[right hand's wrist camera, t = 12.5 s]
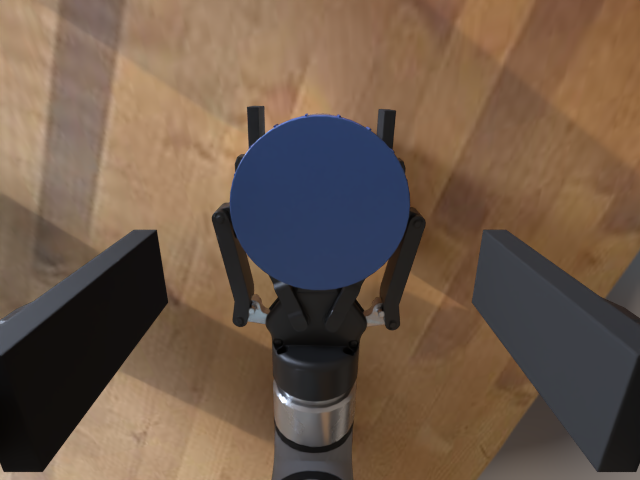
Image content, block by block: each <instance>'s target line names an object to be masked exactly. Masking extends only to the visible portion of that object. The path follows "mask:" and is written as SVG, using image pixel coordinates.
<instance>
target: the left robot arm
mask: <svg viewBox="0 0 640 480" xmlns="http://www.w3.org/2000/svg"><path fill="white" fill-rule="evenodd" d="M247 115H248V140H249V147H250V146H251V145H252V144H254V143H255V142H256V141H257V140H258V139H259V138H261V137H262V136H263V135H264V134H265V117H264V106H250V107H247ZM395 116H396V111H395V110H389V109H379V112H378V125H377V136H378V137H379V138H380V139H381V140H383V141H384V142H385V143H386V144H387V146H388V147H389V148H390V149H393V138H394V127H395ZM244 156H245V154H241V155H239V156H238V157H237V159H236V162H235V173H236V170H237V168H238V166H239V164H240V162H241V160H242V158H243V157H244ZM397 159H398V160H399V162H400V164H401V166H402V168H403V170H404V173H405V165H404V162H403V161H402V160H401V159H400V158H397ZM212 222H213V225H214V229H215V233H216V236H217V240H218V243H219V247H220V251H221V254H222V258H223V261H224V265H225V268H226V272H227V276H228V279H229V283H230V286H231V290H232V293H233V297H234V301H235V304H234V312H233V323H234V324H235V325H236V326H238V327H243V326H245V325H246V324H247V321H249V322H256V323H262V324H266V327H267V329H268V330H269V332H270V333H271V336H272V355H273V377H274V381H273V396H274V422H275V453H274V466H273V474H272V480H353V470H352V431H353V421H354V414H355V400H356V378H357V371H358V357H359V343H360V338H361V335H362V334H363V332H364V331H365V330H366V327H367V326H375V325H384V324H385V326H386V328H387V329H389V330H396V329H397V328H398V327H399V326H400V316H399V303H400V300H401V297H402V294H403V291H404V288H405V285H406V282H407V279H408V276H409V273H410V270H411V267H412V264H413V261H414V258H415V255H416V252H417V249H418V246H419V243H420V240H421V237H422V234H423V231H424V228H425V224H426V222H425V219H424V218H423V217H422V216H421V215H420V213H419V212H418V211H417V210H416V209H415V208H413V207H410V211H409V219H408V223H407V227H406V230H405V233H404V235H403V238H402V240H401V242H400V244H399V245H398V247H397V249H396V250H395V252H394V253H393V254H392V256H391V257H390V258H389V260H388V263H387V267H386V270H385V273H384V276H383V280H382V283H381V287H380V297H376V298H375V299H374V300H373V302H372V305H371V308H370V309H368V310H366V311H364V310H363V308H362V307H361V306H360V304H359V303H358V301H357V300H356V298H357V296H358V294H359V292H360V289H361V285H362V283H363V282H364V280H365V279H363V280H361V281H359V282H357V283H354V284H352V285H349V286H346V287H342V288H337V289H330V290H309V289H302V288H298V287H294V286H291V285H288V284H286V283H283V282H281V281H279V280H277V279H275V278H273V277H272V276H270V275H269V274H268V275H269V276H270V278H271V280H272V282H273V285H274V289H275V292H276V294H277V296H278V298H277V299H276V300H275V302H274V303H273V304H272V305H271V307H270V308H266V307H264V306H263V304H262V300H261V298H260V297H259V295H257V294H254V283H253V278H252V274H251V270H250V266H249V262H248V258H247V254H246V252H245V250H244V249H243V248H242V246H241V244H240V242H239V240H238V238H237V236H236V233H235V230H234V227H233V224H232V219H231V213H230V203H224V204H222V205H221V206H220V207H219V208H218V209H217V211H216V212H215V213H214V214H213V216H212Z"/></svg>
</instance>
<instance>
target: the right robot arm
mask: <svg viewBox="0 0 640 480" xmlns="http://www.w3.org/2000/svg"><path fill="white" fill-rule="evenodd" d="M167 303H168V298H167V292H166V285H165V279H164V273H163V267H162V260H161V254H160V248H159V241H158V235H157V230H133V231H131V232H130V233H129V234H127V235H126V236H124V237H123V238H122V239H120V240H119V241H117V242H116V243H115V244H113V245H112V246H110V247H109V248H108V249H106V250H105V251H103V252H102V253H101V254H99V255H98V256H96V257H95V258H94V259H92V260H91V261H89V262H88V263H87V264H85V265H84V266H82V267H81V268H80V269H78V270H77V271H75V272H74V273H73V274H71V275H70V276H68V277H67V278H65V279H64V280H63V281H61V282H60V283H58V284H57V285H56V286H54V287H53V288H51V289H50V290H49V291H47V292H46V293H44V294H43V295H42V296H40V297H39V298H37V299H36V300H35V301H33V302H31V303H29V304H26V305H24V306H22V307H20V308H18V309H16V310H14V311H13V312H11V313H10V314H8V315H7V316H6V317H4V318H3V319H1V320H0V464H1V466H2V469H3V471H4V472H43V471H44V469H45V468H46V467H47V465H48V464H49V463H50V461H51V460H52V459H53V457H54V456H55V455H56V453H57V452H58V451H59V449H60V448H61V446H62V445H63V444H64V442H65V441H66V440H67V438H68V437H69V436H70V434H71V433H72V432H73V430H74V429H75V428H76V426H77V425H78V423H79V422H80V421H81V419H82V418H83V417H84V415H85V414H86V413H87V411H88V410H89V409H90V407H91V406H92V405H93V403H94V402H95V401H96V399H97V398H98V396H99V395H100V394H101V392H102V391H103V390H104V388H105V387H106V386H107V384H108V383H109V382H110V380H111V379H112V378H113V376H114V375H115V373H116V372H117V371H118V369H119V368H120V367H121V365H122V364H123V363H124V361H125V360H126V359H127V357H128V356H129V355H130V353H131V352H132V351H133V349H134V348H135V346H136V345H137V344H138V342H139V341H140V340H141V338H142V337H143V336H144V334H145V333H146V332H147V330H148V329H149V328H150V326H151V325H152V324H153V322H154V321H155V319H156V318H157V317H158V315H159V314H160V313H161V311H162V310H163V309H164V307H165V306H166V305H167ZM472 303H473V305H474V306H475V307H476V309H477V310H478V311H479V313H480V314H481V315H482V317H483V318H484V319H485V321H486V322H487V324H488V325H489V326H490V328H491V329H492V330H493V332H494V333H495V334H496V336H497V337H498V338H499V340H500V341H501V342H502V344H503V345H504V346H505V348H506V349H507V351H508V352H509V353H510V355H511V356H512V357H513V359H514V360H515V361H516V363H517V364H518V365H519V367H520V368H521V369H522V371H523V372H524V373H525V375H526V376H527V378H528V379H529V380H530V382H531V383H532V384H533V386H534V387H535V388H536V390H537V391H538V392H539V394H540V395H541V396H542V398H543V399H544V401H545V402H546V403H547V405H548V406H549V407H550V409H551V410H552V411H553V413H554V414H555V415H556V417H557V418H558V419H559V421H560V422H561V423H562V425H563V426H564V428H565V429H566V430H567V432H568V433H569V434H570V436H571V437H572V438H573V440H574V441H575V442H576V444H577V445H578V446H579V448H580V449H581V450H582V452H583V453H584V454H585V456H586V457H587V459H588V460H589V461H590V463H591V464H592V465H593V467H594V468H595V469H596V471H597V472H636V471H637V469H638V466H639V464H640V318H639V317H637V316H636V315H634V314H633V313H631V312H630V311H628V310H627V309H626V308H624V307H622V306H619V305H617V304H615V303H613V302H611V301H608V300H606V299H604V298H602V297H600V296H598V295H597V294H596V293H594V292H593V291H591V290H590V289H589V288H587V287H586V286H584V285H583V284H582V283H580V282H579V281H577V280H576V279H575V278H573V277H572V276H570V275H569V274H567V273H566V272H565V271H563V270H562V269H560V268H559V267H558V266H556V265H555V264H553V263H552V262H551V261H549V260H548V259H546V258H545V257H544V256H542V255H541V254H539V253H538V252H537V251H535V250H534V249H532V248H531V247H530V246H528V245H527V244H525V243H524V242H523V241H521V240H520V239H518V238H517V237H516V236H514V235H513V234H511V233H510V232H509V231H507V230H483V235H482V241H481V248H480V254H479V260H478V267H477V273H476V279H475V285H474V292H473V298H472Z"/></svg>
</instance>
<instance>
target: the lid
mask: <svg viewBox="0 0 640 480" xmlns="http://www.w3.org/2000/svg"><path fill="white" fill-rule="evenodd" d="M273 127H274V128H273V129H271V130H270V131H268V132H267V133H266V134H264V135H263V136H262V137H261V138H259V139H258V140H257V141H256V142H255V143H254V144H252V145H251V146H250V147H249V150H248V151H247V153H246V154H245V156H244V157H243V158H242V160H241V162H240V164H239V166H238V168H237V170H236V173H235V174H234V179H233V182H232V187H231V192H230V213H231V219H232V224H233V227H234V230H235V233H236V236H237V238H238V240H239V242H240V244H241V246H242V248H243V249H244V250H245V252H246V253H247V255H248V256H249V257H250V258H251V259H252V261H253V262H254V263H255V264H256V265H257V266H258V267H260V268H261V269H262V270H263V271H264V272H266V273H267V274H269V275H270V276H272V277H273V278H275V279H277V280H279V281H281V282H283V283H286V284H288V285H291V286H294V287H298V288H302V289H309V290H330V289H337V288H342V287H346V286H349V285H352V284H354V283H357V282H359V281H361V280H363V279H365V278H367V277H368V276H370V275H371V274H373V273H374V272H376V271H377V270H378V269H379V268H380V267H382V266H383V265H384V264H385V263H386V262H387V260H388V259H389V258H390V257H391V256H392V254H393V253H394V252H395V250H396V249H397V247H398V245H399V244H400V242H401V240H402V238H403V235H404V233H405V230H406V227H407V223H408V219H409V211H410V193H409V188H408V182H407V179H406V176H405V173H404V170H403V168H402V166H401V164H400V162H399V160H398V159H397V157H396V156H395V154H394V153H395V152H394V151H393V150H392V149H390V148H389V147H388V146H387V144H386V143H385V142H384V141H383V140H381V139H380V138H379V137H378V136H377V135H376V134H374V133H373V132H371V129H370V128H369V127H366V128H365V127H364V126H362V125H360V124H358V123H356V122H354V121H352V120H349V119H346V118H342V117H341V116H340V115H337V116H333V115H317V114H315V115H308V114H305V116H301V117H298V118H294V119H291V120H288V121H286V122H284V123H281V124H280V125H278V124H276V125H275V126H273Z"/></svg>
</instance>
